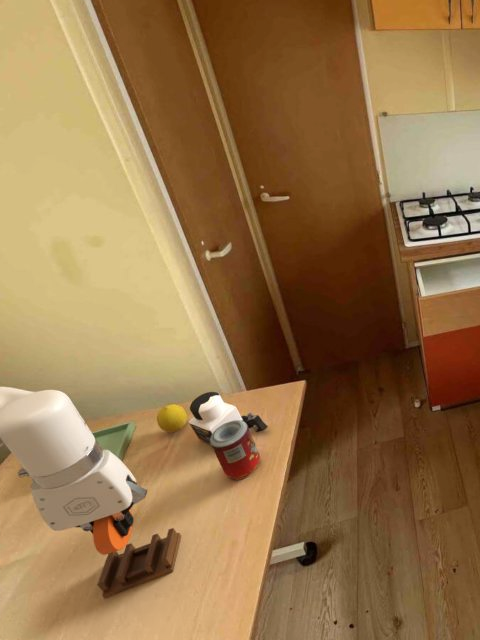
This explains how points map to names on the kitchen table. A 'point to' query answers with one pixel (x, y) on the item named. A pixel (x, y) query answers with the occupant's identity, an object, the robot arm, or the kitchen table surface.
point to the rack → (139, 564)
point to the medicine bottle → (211, 414)
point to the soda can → (235, 449)
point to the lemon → (171, 418)
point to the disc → (108, 536)
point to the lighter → (254, 422)
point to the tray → (115, 438)
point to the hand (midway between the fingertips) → (117, 531)
